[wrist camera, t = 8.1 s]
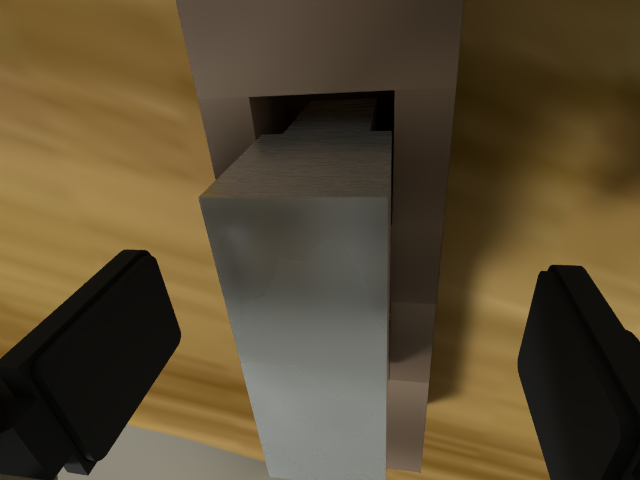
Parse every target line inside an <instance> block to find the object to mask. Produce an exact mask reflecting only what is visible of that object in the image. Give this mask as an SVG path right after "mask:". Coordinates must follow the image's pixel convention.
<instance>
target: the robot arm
mask: <svg viewBox="0 0 640 480" xmlns="http://www.w3.org/2000/svg"><path fill="white" fill-rule="evenodd" d="M180 339H181V331H180V328H179V325H178V322H177V319H176V316H175V313H174V310H173V307H172V304H171V301H170V298H169V295H168V292H167V290H166V287H165V284H164V281H163V278H162V275H161V272H160V269H159V266H158V263H157V261H156V258H155V257H153V256H151V254H150V253H149V252H148V251H146V250H123V251H121V252H120V253H119V254H118V255H116V256H115V257H114V258H113V259H112V260H111V261H110V262H109V263H107V264H106V265H105V266H104V267H103V268H102V269H101V270H100V271H98V272H97V273H96V274H95V275H94V276H93V277H92V278H91V279H89V280H88V281H87V282H86V283H85V284H84V285H83V286H82V287H80V288H79V289H78V290H77V291H76V292H75V293H74V294H73V295H72V296H70V297H69V298H68V299H67V300H66V301H65V302H64V303H63V304H61V305H60V306H59V307H58V308H57V309H56V310H55V311H54V312H52V313H51V314H50V315H49V316H48V317H47V318H46V319H45V320H43V321H42V322H41V323H40V324H39V325H38V326H37V327H36V328H34V329H33V330H32V331H31V332H30V333H29V334H28V335H27V336H25V337H24V338H23V339H22V340H21V341H20V342H19V343H18V344H16V345H15V346H14V347H13V348H12V349H11V350H10V351H9V352H7V353H6V354H5V355H4V356H3V357H2V358H1V359H0V480H58V479H57V478H58V477H57V474H58V473H59V472H60V470H61V469H62V467H63V466H64V468H65V469H66V471H67V472H70V473H76V474H82V475H89V473H90V472H91V470H92V469H93V467H94V466H95V464H96V463H97V461H100V460H102V459H103V458H104V457H105V456H106V455H107V453H108V452H109V450H110V449H111V447H112V446H113V444H114V443H115V441H116V440H117V438H118V437H119V435H120V433H121V432H122V430H123V429H124V427H125V426H126V424H127V423H128V421H129V420H130V418H131V417H132V415H133V414H134V412H135V411H136V409H137V408H138V406H139V404H140V403H141V401H142V400H143V398H144V397H145V395H146V394H147V392H148V391H149V389H150V388H151V386H152V385H153V383H154V382H155V380H156V379H157V377H158V375H159V374H160V372H161V371H162V369H163V368H164V366H165V365H166V363H167V362H168V360H169V359H170V357H171V356H172V354H173V353H174V351H175V349H176V348H177V346H178V345H179V343H180ZM518 373H519V377H520V380H521V383H522V386H523V390H524V393H525V396H526V400H527V403H528V406H529V410H530V413H531V416H532V419H533V423H534V426H535V429H536V433H537V436H538V439H539V443H540V446H541V449H542V453H543V456H544V459H545V462H546V466H547V469H548V472H549V476H550V479H551V480H640V342H639V340H638V339H637V338H636V337H635V335H634V334H633V333H632V332H630V331H628V330H625V329H624V327H623V326H622V324H621V323H620V321H619V320H618V318H617V316H616V315H615V313H614V312H613V310H612V309H611V307H610V306H609V304H608V303H607V301H606V300H605V298H604V297H603V295H602V294H601V292H600V291H599V289H598V288H597V286H596V285H595V283H594V282H593V280H592V279H591V277H590V276H589V274H588V273H587V271H586V270H585V269H584V268H583V267H582V266H573V265H551V266H550V267H549V268H548V271H541V272H540V273H539V275H538V279H537V283H536V287H535V291H534V295H533V299H532V303H531V307H530V311H529V315H528V319H527V323H526V327H525V331H524V335H523V339H522V343H521V348H520V352H519V356H518Z"/></svg>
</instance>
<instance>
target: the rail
mask: <svg viewBox="0 0 640 480" xmlns="http://www.w3.org/2000/svg"><path fill="white" fill-rule="evenodd" d="M176 3H177V8H178V12H179V17H180V21H181V26H182V30H183V35H184V39H185V44H186V48H187V53H188V57H189V62H190V66H191V71H192V75H193V80H194V84H195V89H196V93H197V97H198V102H199V106H200V111H201V115H202V120H203V124H204V129H205V133H206V138H207V142H208V147H209V151H210V156H211V160H212V165H213V169H214V174H215V178H216V180H217V179H218V178H219V177H220V176H221V175H222V174H223V173H224V172H225V171H226V170H227V169H228V168H229V167H230V166H231V165H232V164H233V163H234V162H235V161H236V160H237V159H238V158H239V157H240V156H241V155H242V154H243V153H244V152H245V151H246V150H247V149H248V148H249V147H250V146H251V145H252V144H253V143H254V142H255V141H256V140H257V139H258V138H259V137H260V136H261V135H271V134H283V133H284V132H285V131H286V129H287V125H286V117H285V108H284V100H283V95H301V94H323V93H344V92H365V91H386V90H395V106H394V161H393V181H391V234H390V302H391V320H389V387H388V423H387V460H386V468H389V469H397V470H405V471H413V472H421V464H422V454H423V443H424V432H425V421H426V410H427V399H428V388H429V378H430V367H431V356H432V345H433V334H434V323H435V312H436V302H437V291H438V280H439V269H440V258H441V247H442V236H443V226H444V215H445V204H446V193H447V182H448V171H449V160H450V150H451V139H452V128H453V117H454V106H455V95H456V84H457V74H458V63H459V52H460V41H461V30H462V19H463V8H464V0H176Z"/></svg>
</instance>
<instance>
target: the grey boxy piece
mask: <svg viewBox="0 0 640 480" xmlns="http://www.w3.org/2000/svg"><path fill="white" fill-rule="evenodd" d="M391 153H392V131H377V98H373V99H352V100H331V101H311V102H310V103H309V104H308V105H307V106H306V107H305V109H304V110H303V111H302V112H301V113H300V114H299V116H298V117H297V118H296V119H295V120H294V121H293V122H292V124H291V125H290V126H289V127H288V128H287V129H286V131H285V132H284V133H283V134H271V135H261V136H260V137H259V138H258V139H257V140H256V141H255V142H254V143H253V144H252V145H251V146H250V147H249V148H248V149H247V150H246V151H245V152H244V153H243V154H242V155H241V156H240V157H239V158H238V159H237V160H236V161H235V162H234V163H233V164H232V165H231V166H230V167H229V168H228V169H227V170H226V171H225V172H224V173H223V174H222V175H221V176H220V177H219V178H218V179H217V180H216V181H215V182H214V183H213V184H212V185H211V186H210V187H208V188H207V189H206V190H205V191H204V192H203V193H202V194H201V195H200V196H199V197H198V198H199V202H200V206H201V210H202V214H203V218H204V222H205V226H206V230H207V233H208V237H209V241H210V245H211V249H212V253H213V257H214V261H215V265H216V269H217V273H218V277H219V280H220V284H221V288H222V292H223V296H224V300H225V304H226V308H227V312H228V316H229V320H230V324H231V327H232V331H233V335H234V339H235V343H236V347H237V351H238V355H239V359H240V363H241V367H242V370H243V374H244V378H245V382H246V386H247V390H248V394H249V398H250V402H251V406H252V410H253V414H254V417H255V421H256V425H257V429H258V433H259V437H260V441H261V445H262V449H263V453H264V457H265V460H266V464H267V468H268V472H269V476H270V477H277V478H284V479H292V480H386V460H387V423H388V387H389V316H390V234H391Z"/></svg>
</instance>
